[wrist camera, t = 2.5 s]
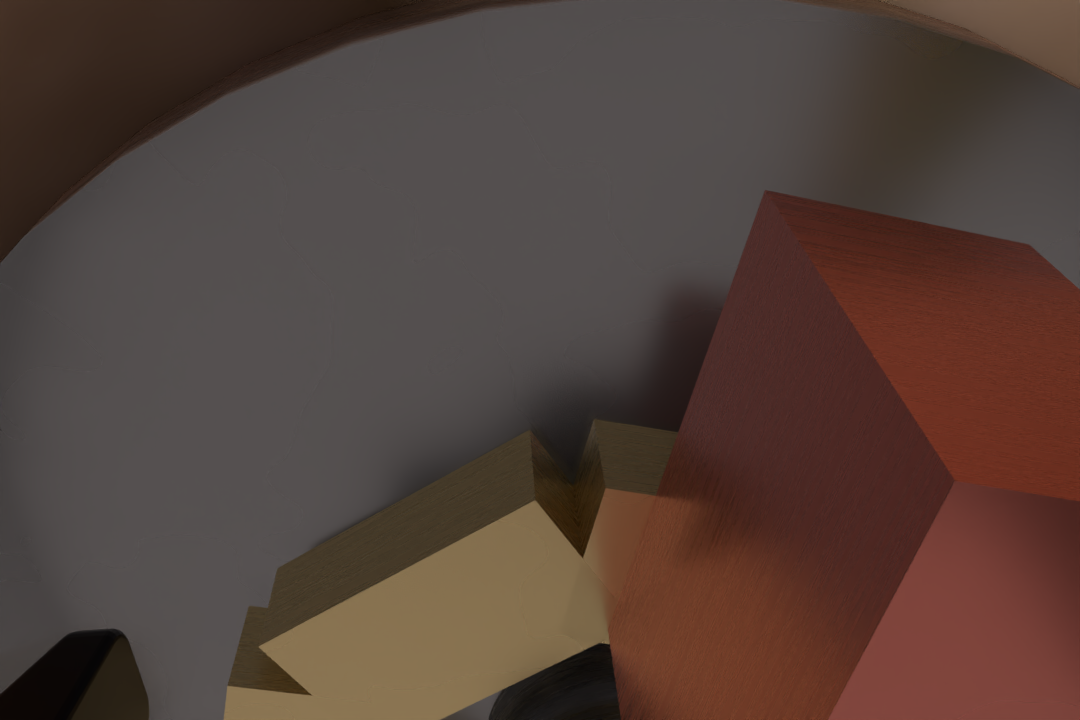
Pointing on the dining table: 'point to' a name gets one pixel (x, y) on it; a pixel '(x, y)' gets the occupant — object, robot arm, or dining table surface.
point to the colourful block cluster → (748, 515)
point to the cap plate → (444, 282)
